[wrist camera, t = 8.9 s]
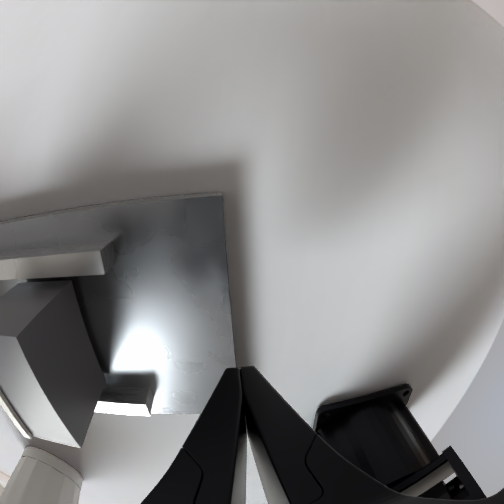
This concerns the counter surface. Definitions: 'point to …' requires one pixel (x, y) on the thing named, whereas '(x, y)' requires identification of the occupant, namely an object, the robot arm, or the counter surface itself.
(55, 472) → the cup
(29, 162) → the counter surface
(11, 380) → the plunger
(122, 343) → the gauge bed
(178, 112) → the counter surface
